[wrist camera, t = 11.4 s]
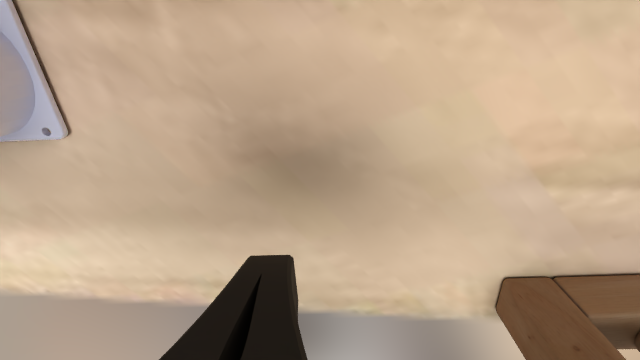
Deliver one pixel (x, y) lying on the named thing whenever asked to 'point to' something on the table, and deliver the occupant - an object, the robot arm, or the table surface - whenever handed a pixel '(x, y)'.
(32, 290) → the table surface
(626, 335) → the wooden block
